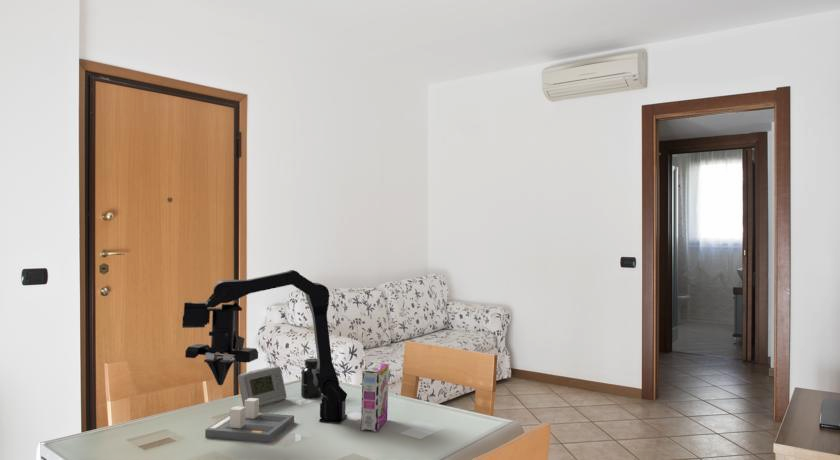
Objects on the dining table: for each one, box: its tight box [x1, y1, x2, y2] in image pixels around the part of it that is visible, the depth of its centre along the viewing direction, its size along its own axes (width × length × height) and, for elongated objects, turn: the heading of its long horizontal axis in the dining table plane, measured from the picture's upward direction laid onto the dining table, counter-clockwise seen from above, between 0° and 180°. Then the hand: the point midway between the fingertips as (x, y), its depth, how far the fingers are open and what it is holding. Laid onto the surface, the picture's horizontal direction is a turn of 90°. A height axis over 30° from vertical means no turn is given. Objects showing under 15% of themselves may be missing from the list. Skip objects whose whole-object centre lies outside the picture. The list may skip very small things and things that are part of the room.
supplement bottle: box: [300, 358, 323, 400], centre depth 188 cm, size 7×7×12 cm
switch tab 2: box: [244, 398, 260, 419], centre depth 160 cm, size 3×3×5 cm
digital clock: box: [237, 365, 287, 408], centre depth 179 cm, size 16×9×11 cm, turn 132°
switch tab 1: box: [229, 405, 246, 428], centre depth 152 cm, size 3×3×5 cm
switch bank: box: [204, 412, 295, 444], centre depth 155 cm, size 18×16×2 cm
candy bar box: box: [360, 362, 390, 433], centre depth 160 cm, size 11×5×16 cm, turn 168°
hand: (220, 384), depth 153 cm, fingers closed
